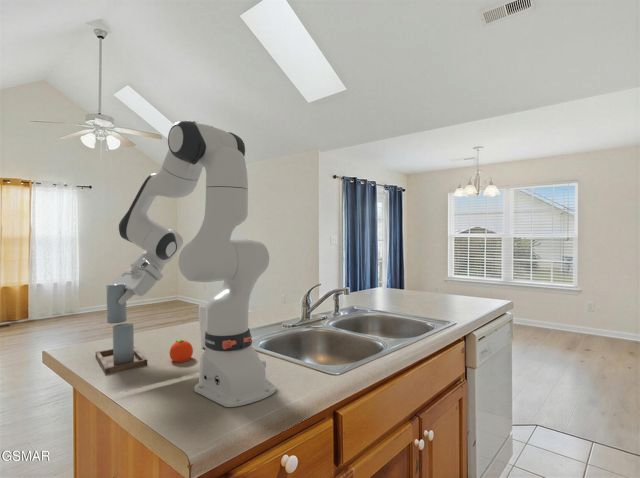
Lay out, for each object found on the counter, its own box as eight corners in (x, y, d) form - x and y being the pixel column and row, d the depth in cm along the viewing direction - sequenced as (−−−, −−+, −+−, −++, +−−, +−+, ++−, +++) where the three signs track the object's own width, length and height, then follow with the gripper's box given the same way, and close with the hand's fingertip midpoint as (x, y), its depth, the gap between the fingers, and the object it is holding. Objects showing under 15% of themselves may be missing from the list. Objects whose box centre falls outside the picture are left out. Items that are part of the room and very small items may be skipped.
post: (128, 321, 116) (127, 284, 116) (108, 324, 113) (108, 286, 113) (124, 318, 121) (124, 282, 120) (105, 321, 117) (105, 284, 117)
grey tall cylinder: (136, 365, 109) (135, 325, 109) (115, 369, 106) (114, 329, 106) (131, 360, 114) (131, 322, 113) (111, 364, 110) (111, 325, 110)
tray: (147, 368, 110) (147, 359, 110) (105, 377, 103) (105, 368, 103) (132, 352, 124) (132, 344, 124) (95, 359, 117) (95, 351, 117)
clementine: (164, 361, 115) (164, 339, 115) (185, 356, 120) (185, 335, 120) (175, 368, 109) (174, 345, 109) (197, 362, 114) (196, 340, 114)
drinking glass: (221, 343, 133) (221, 303, 132) (214, 349, 126) (214, 307, 126) (204, 343, 133) (203, 303, 133) (196, 349, 127) (195, 307, 126)
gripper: (125, 261, 128) (95, 292, 121) (151, 264, 115) (119, 299, 108) (138, 272, 132) (110, 303, 125) (165, 277, 119) (135, 312, 111)
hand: (114, 302), depth 116 cm, fingers closed on post, 5 cm apart
